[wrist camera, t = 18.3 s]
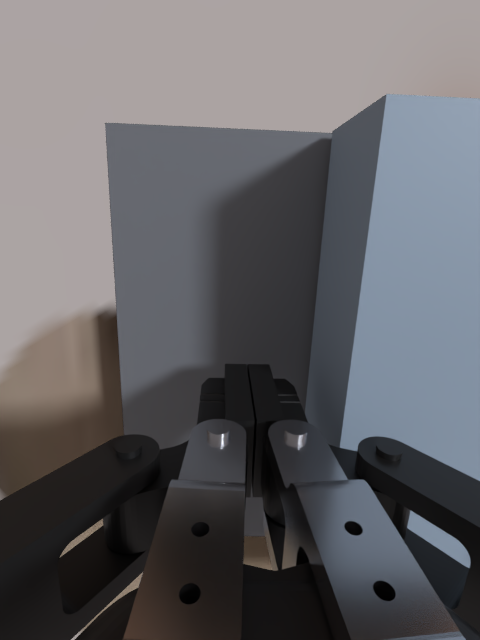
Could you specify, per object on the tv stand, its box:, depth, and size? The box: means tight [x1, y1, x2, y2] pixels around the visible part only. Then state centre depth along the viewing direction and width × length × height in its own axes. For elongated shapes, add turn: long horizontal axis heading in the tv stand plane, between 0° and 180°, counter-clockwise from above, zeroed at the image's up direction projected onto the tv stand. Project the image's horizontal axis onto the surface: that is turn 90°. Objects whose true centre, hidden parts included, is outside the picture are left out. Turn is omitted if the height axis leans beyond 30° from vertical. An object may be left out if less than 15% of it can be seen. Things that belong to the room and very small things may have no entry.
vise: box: [105, 123, 332, 536], centre depth 13 cm, size 16×24×6 cm, turn 88°
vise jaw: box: [305, 94, 480, 568], centre depth 12 cm, size 16×8×4 cm, turn 178°
